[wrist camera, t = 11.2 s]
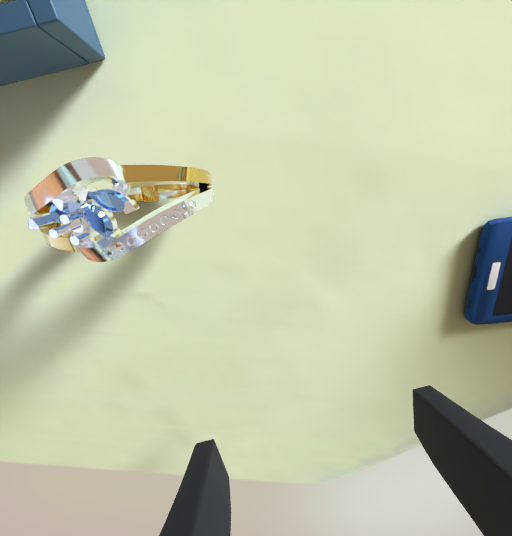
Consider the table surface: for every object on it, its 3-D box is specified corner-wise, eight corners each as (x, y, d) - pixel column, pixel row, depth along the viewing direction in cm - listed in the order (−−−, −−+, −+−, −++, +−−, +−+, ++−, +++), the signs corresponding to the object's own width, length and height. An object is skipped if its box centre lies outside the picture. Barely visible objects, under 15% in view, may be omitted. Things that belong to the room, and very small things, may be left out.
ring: (96, 225, 16) (-19, 280, 9) (80, 165, 15) (-70, 167, 8) (220, 214, 16) (212, 257, 9) (213, 155, 15) (197, 147, 8)
